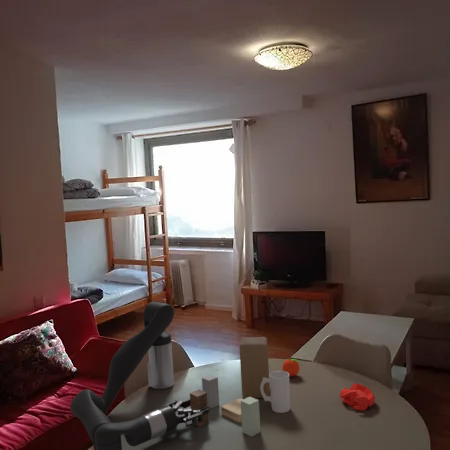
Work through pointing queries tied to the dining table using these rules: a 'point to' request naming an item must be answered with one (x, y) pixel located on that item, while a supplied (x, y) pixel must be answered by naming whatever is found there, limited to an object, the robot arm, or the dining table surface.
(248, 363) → the wooden block
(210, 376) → the grey post
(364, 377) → the dining table surface
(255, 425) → the sage post
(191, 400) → the walnut post
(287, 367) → the clementine
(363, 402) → the animal figurine
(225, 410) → the oak slab
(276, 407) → the mug
